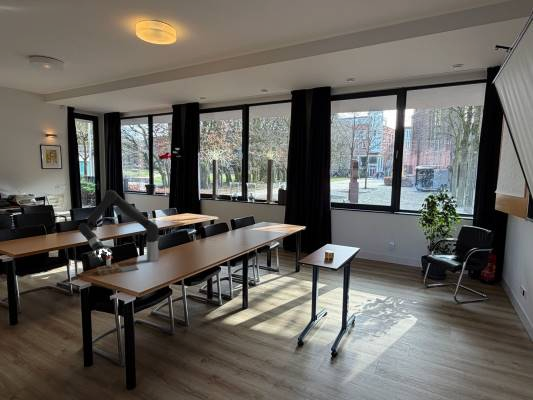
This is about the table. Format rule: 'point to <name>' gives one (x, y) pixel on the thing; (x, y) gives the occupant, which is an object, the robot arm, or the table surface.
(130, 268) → the mat
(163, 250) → the table surface
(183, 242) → the table surface
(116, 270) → the eye block
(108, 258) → the wheel peg
